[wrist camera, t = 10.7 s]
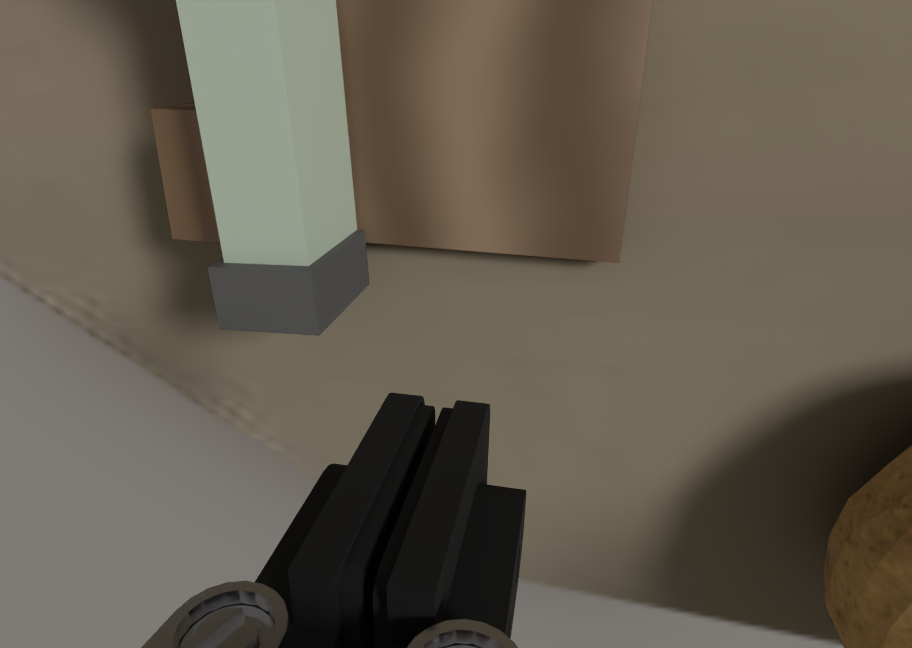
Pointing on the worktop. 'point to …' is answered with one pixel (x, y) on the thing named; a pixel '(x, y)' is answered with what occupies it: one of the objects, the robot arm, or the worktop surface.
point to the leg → (276, 161)
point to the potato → (873, 562)
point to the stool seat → (469, 126)
